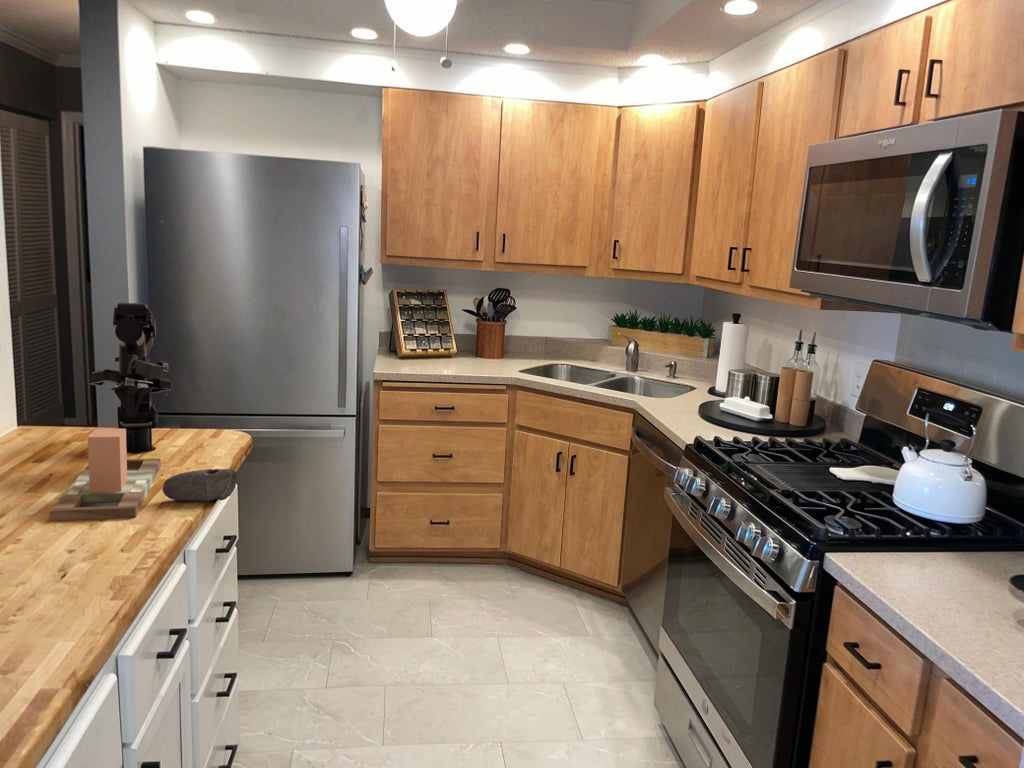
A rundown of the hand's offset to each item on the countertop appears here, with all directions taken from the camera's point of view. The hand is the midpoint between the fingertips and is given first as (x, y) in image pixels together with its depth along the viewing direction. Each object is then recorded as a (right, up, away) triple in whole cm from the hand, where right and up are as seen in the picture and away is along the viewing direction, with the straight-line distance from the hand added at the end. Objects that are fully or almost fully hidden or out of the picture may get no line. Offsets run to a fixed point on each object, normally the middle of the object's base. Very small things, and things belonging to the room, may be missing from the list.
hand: (132, 417), depth 180 cm
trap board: (+2, -16, -13) cm, 21 cm away
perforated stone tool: (+23, -18, -15) cm, 32 cm away
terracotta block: (+3, -14, -16) cm, 22 cm away
